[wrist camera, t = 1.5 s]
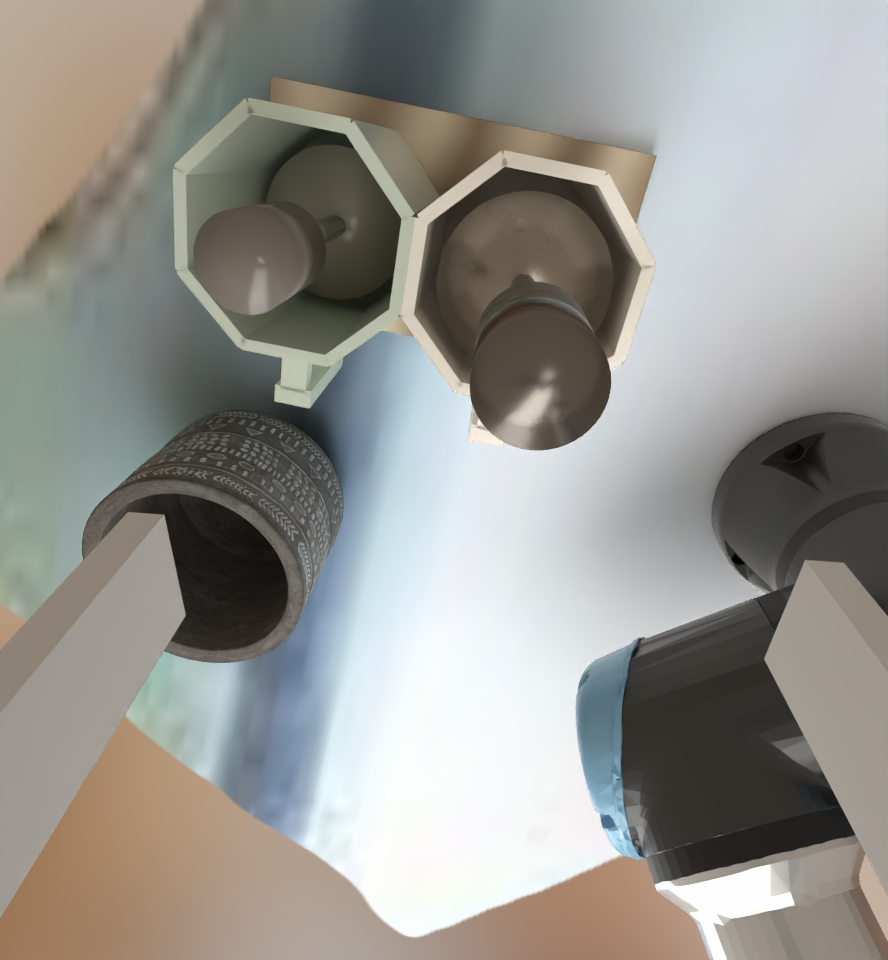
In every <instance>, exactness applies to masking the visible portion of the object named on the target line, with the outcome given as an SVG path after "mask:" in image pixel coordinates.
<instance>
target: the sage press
mask: <svg viewBox="0 0 888 960" xmlns="http://www.w3.org/2000/svg"><path fill="white" fill-rule="evenodd" d="M174 166H175V167H176V168H173V203H174V246H175V269H176V270H179V271H177V272H176V273H177V274H178V275H179V277H180V278H181V279H182V280H183V281H184V283H185V284H186V285H187V286H188V287H189V289H190V290H191V291H192V292H193V294H194V295H195V296H196V297H197V298H198V300H199V301H200V302H201V303H202V304H203V306H204V307H205V308H206V309H207V311H208V312H209V313H210V314H211V315H212V317H213V318H214V319H215V320H216V321H217V323H218V324H219V325H220V326H221V328H222V329H223V330H224V331H225V332H226V334H227V335H228V336H229V337H230V338H231V340H232V341H233V342H234V343H235V344H236V346H237V347H238V348H239V347H241V350H245V351H250V352H255V353H260V354H265V355H270V356H275V357H280V358H282V369H281V379H280V380H279V381H278V382H277V383H276V384H275V396H274V401H275V402H280V403H285V404H290V405H295V406H300V407H305V408H310V407H311V406H312V405H313V403H314V402H315V401H316V399H317V398H318V397H319V396H320V394H321V393H322V392H323V390H324V389H325V388H326V386H327V385H328V384H329V383H330V381H331V380H332V379H333V377H334V376H335V375H336V373H337V372H338V371H339V370H340V368H341V367H342V364H343V357H344V356H346V355H347V354H349V353H350V352H351V351H353V350H354V349H356V348H357V347H359V346H360V345H361V344H363V343H364V342H366V341H367V340H369V339H370V338H371V337H373V336H374V335H376V334H377V333H378V332H380V331H381V330H383V329H384V328H386V327H387V326H388V325H390V324H391V323H393V322H394V321H396V320H397V319H398V318H400V316H401V311H402V305H403V298H404V291H405V284H406V277H407V271H408V264H409V257H410V250H411V244H412V237H413V230H414V223H415V217H417V216H418V215H417V214H418V213H420V212H421V211H422V210H424V209H425V208H426V207H428V206H429V205H430V204H432V203H433V202H434V201H435V200H437V199H438V198H439V197H440V196H439V194H438V193H437V191H436V190H435V188H434V187H433V185H432V183H431V182H430V180H429V178H428V175H427V173H426V172H425V170H424V168H423V166H422V165H421V163H420V162H419V160H418V159H417V158H416V156H415V155H414V154H413V153H412V152H411V150H410V148H409V147H408V145H407V144H406V142H405V140H404V139H403V137H402V136H401V134H400V132H397V130H393V129H389V128H385V127H381V126H378V125H374V124H370V123H366V122H362V121H358V120H354V119H350V118H346V117H341V116H336V115H331V114H326V113H321V112H316V111H312V110H307V109H302V108H297V107H292V106H287V105H282V104H278V103H273V102H268V101H263V100H258V99H253V98H248V99H246V98H244V99H243V100H242V101H241V102H240V103H239V104H238V105H237V106H236V107H235V108H234V109H233V110H232V111H231V112H230V113H228V114H227V115H226V116H225V117H224V118H223V119H222V120H221V121H220V122H219V123H218V124H217V125H216V126H215V127H214V128H212V129H211V130H210V131H209V132H208V133H207V134H206V135H205V136H204V137H203V138H202V139H201V140H200V141H199V142H198V143H197V144H195V145H194V146H193V147H192V148H191V149H190V150H189V151H188V152H187V153H186V154H185V155H184V156H183V157H182V158H181V159H179V160H178V161H177V162H176V163H175V164H174Z"/></svg>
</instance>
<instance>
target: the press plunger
mask: <svg viewBox="0 0 888 960" xmlns="http://www.w3.org/2000/svg"><path fill="white" fill-rule="evenodd" d="M436 287H437V299H438V305H439V309H440V312H441V316H442V318H443V321H444V323H445V325H446V327H447V329H448V331H449V332H450V334H451V336H452V337H453V338H454V340H455V341H456V342H457V343H458V345H459V346H460V347H461V348H462V349H464V350H465V351H466V352H467V353H468V354H469V355H471V356H472V357H473V362H472V369H471V376H470V396H471V401H472V405H473V408H474V410H475V412H476V415H477V416H478V418H479V420H480V421H481V423H482V424H483V425H484V426H485V428H486V429H487V430H488V431H489V432H490V433H491V434H493V435H494V436H495V437H497V438H498V439H499V440H501V441H503V442H505V443H507V444H509V445H512V446H514V447H518V448H521V449H527V450H548V449H553V448H558V447H561V446H564V445H566V444H569V443H571V442H573V441H575V440H576V439H578V438H579V437H581V436H582V435H584V434H585V433H586V432H587V431H588V430H589V429H590V428H591V427H592V426H593V425H594V424H595V423H596V422H597V420H598V419H599V418H600V416H601V414H602V413H603V411H604V409H605V407H606V404H607V402H608V398H609V394H610V389H611V372H610V366H609V363H608V360H607V357H606V355H605V352H604V350H603V348H602V347H601V345H600V343H599V341H598V339H597V337H596V335H595V333H596V331H597V330H598V328H599V327H600V325H601V323H602V321H603V319H604V317H605V315H606V312H607V310H608V307H609V304H610V299H611V295H612V288H613V267H612V260H611V256H610V252H609V249H608V246H607V243H606V241H605V239H604V237H603V235H602V233H601V232H600V230H599V228H598V227H597V225H596V224H595V223H594V222H593V221H592V219H591V218H590V217H589V216H588V215H587V214H586V213H585V212H584V211H582V210H581V209H580V208H579V207H577V206H576V205H574V204H573V203H571V202H570V201H568V200H566V199H564V198H562V197H560V196H557V195H554V194H551V193H547V192H543V191H535V190H520V191H514V192H508V193H505V194H502V195H498V196H496V197H494V198H491V199H489V200H487V201H485V202H484V203H482V204H481V205H479V206H478V207H476V208H475V209H474V210H472V211H471V212H470V213H469V214H468V215H467V216H466V217H465V218H464V219H463V220H462V221H461V222H460V223H459V224H458V226H457V227H456V229H455V230H454V231H453V233H452V234H451V236H450V238H449V239H448V241H447V243H446V245H445V247H444V250H443V253H442V255H441V258H440V262H439V266H438V271H437V281H436Z"/></svg>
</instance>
